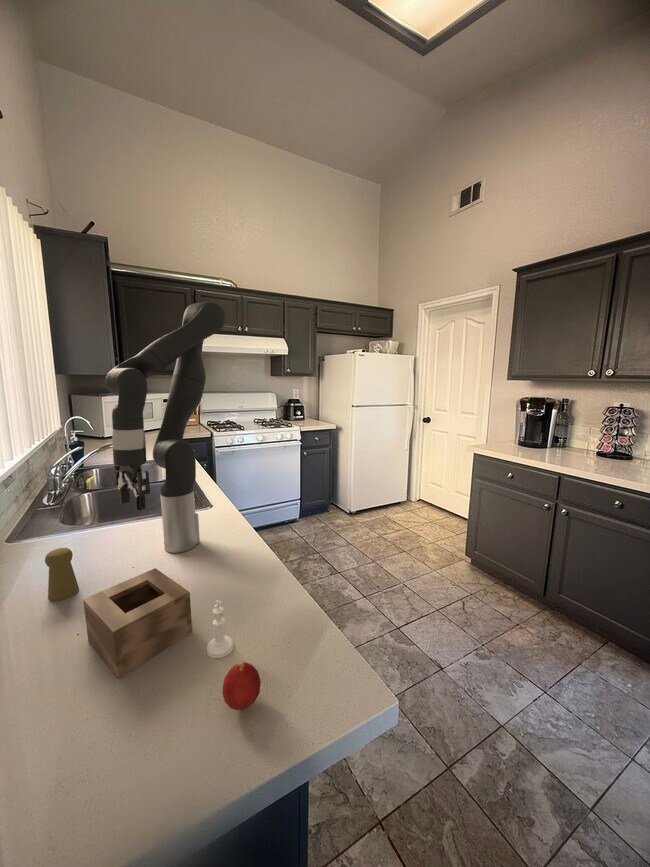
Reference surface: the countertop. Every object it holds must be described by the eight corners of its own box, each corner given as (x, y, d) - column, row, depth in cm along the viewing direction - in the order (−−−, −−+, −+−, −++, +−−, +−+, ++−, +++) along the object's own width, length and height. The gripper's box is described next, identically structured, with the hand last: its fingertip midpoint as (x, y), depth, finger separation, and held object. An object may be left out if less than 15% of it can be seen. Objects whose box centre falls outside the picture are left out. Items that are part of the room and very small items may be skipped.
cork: (62, 602, 80) (56, 558, 78) (41, 599, 81) (34, 555, 79) (85, 587, 86) (80, 545, 84) (65, 584, 87) (59, 543, 85)
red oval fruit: (227, 691, 58) (225, 648, 56) (262, 688, 58) (261, 646, 57) (220, 726, 52) (217, 679, 51) (259, 723, 52) (257, 676, 51)
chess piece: (238, 642, 68) (236, 595, 67) (223, 661, 64) (220, 612, 62) (217, 635, 70) (214, 590, 68) (201, 654, 65) (197, 606, 64)
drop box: (158, 604, 79) (155, 568, 78) (192, 632, 71) (189, 591, 69) (88, 640, 69) (83, 599, 67) (118, 678, 60) (113, 631, 59)
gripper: (158, 447, 89) (160, 508, 91) (131, 441, 97) (134, 497, 100) (127, 451, 83) (130, 516, 85) (101, 444, 91) (105, 504, 94)
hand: (132, 506), depth 93 cm, fingers open, 8 cm apart
